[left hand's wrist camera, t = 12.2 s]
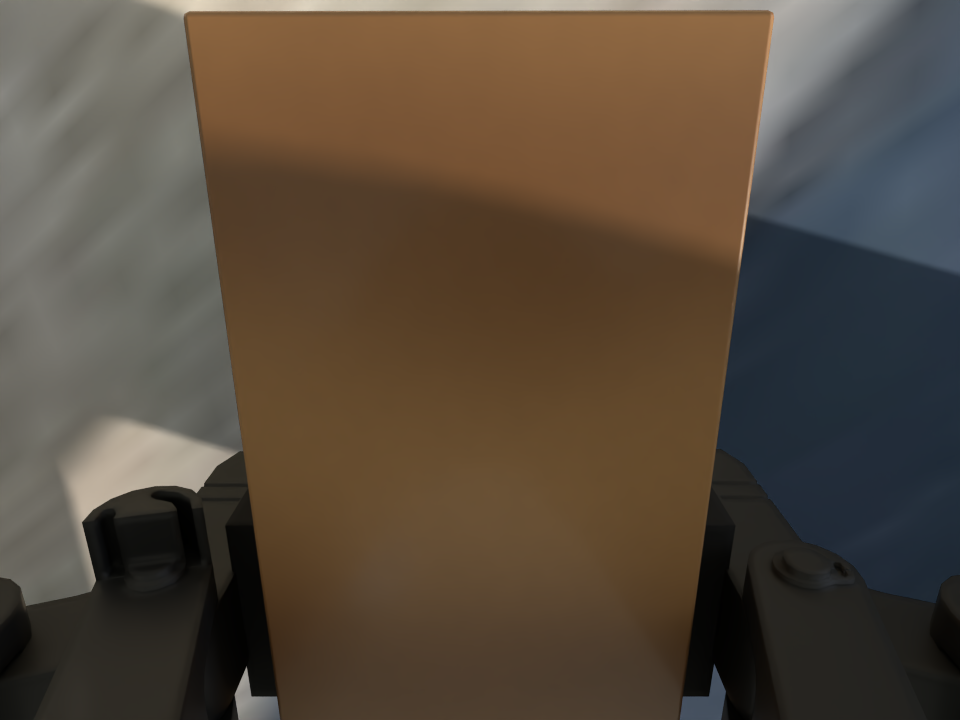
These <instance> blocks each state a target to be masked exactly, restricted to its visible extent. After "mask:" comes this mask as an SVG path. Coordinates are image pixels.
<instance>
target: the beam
mask: <svg viewBox="0 0 960 720" xmlns="http://www.w3.org/2000/svg"><path fill="white" fill-rule="evenodd" d="M773 21H774V15H773V13H772V12H770V11H768V10H680V11H189V12H187V13H185V14H184V24H185V31H186V38H187V46H188V53H189V60H190V67H191V75H192V82H193V89H194V96H195V104H196V111H197V118H198V125H199V133H200V140H201V147H202V155H203V162H204V169H205V176H206V184H207V191H208V198H209V205H210V213H211V220H212V227H213V234H214V242H215V249H216V256H217V263H218V271H219V278H220V285H221V292H222V300H223V307H224V314H225V322H226V329H227V336H228V343H229V351H230V358H231V365H232V372H233V380H234V387H235V394H236V401H237V409H238V416H239V423H240V430H241V438H242V445H243V452H244V459H245V467H246V474H247V481H248V488H249V496H250V503H251V510H252V518H253V525H254V532H255V539H256V547H257V554H258V561H259V568H260V576H261V583H262V590H263V597H264V605H265V612H266V619H267V626H268V634H269V641H270V648H271V656H272V663H273V670H274V677H275V685H276V692H277V699H278V706H279V714H280V720H680V713H681V706H682V698H683V691H684V683H685V676H686V668H687V661H688V654H689V646H690V639H691V631H692V624H693V616H694V609H695V601H696V594H697V587H698V579H699V572H700V564H701V557H702V549H703V542H704V534H705V527H706V520H707V512H708V505H709V497H710V490H711V482H712V475H713V467H714V460H715V452H716V445H717V438H718V430H719V423H720V415H721V408H722V400H723V393H724V385H725V378H726V371H727V363H728V356H729V348H730V341H731V333H732V326H733V318H734V311H735V304H736V296H737V289H738V281H739V274H740V266H741V259H742V251H743V244H744V236H745V229H746V222H747V214H748V207H749V199H750V192H751V184H752V177H753V169H754V162H755V155H756V147H757V140H758V132H759V125H760V117H761V110H762V102H763V95H764V88H765V80H766V73H767V65H768V58H769V50H770V43H771V35H772V28H773Z"/></svg>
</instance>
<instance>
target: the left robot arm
mask: <svg viewBox="0 0 960 720" xmlns="http://www.w3.org/2000/svg"><path fill="white" fill-rule="evenodd" d="M82 524H83V528H84V532H85V536H86V541H87V545H88V549H89V553H90V557H91V561H92V565H93V569H94V573H95V578H96V582H95V585H94V587H93V589H92V591H91V592H89V593H85V594H81V595H78V596H73V597H68V598H63V599H59V600H54V601H49V602H44V603H39V604H34V605H29V606H26V605H25V602H24V598H23V595H22V591H21V588H20V586H18V585H17V584H16V583H14V582H13V581H12V580H11V579H6V578H0V720H238V713H237V707H236V701H235V692H236V690H237V688H238V685H239V683H240V680H241V678H242V676H243V673H244V671H245V669H246V666H247V670H248V676H249V683H250V689H251V695H252V696H277V692H276V685H275V677H274V670H273V663H272V656H271V648H270V641H269V634H268V626H267V619H266V612H265V605H264V597H263V590H262V583H261V576H260V568H259V561H258V554H257V547H256V539H255V532H254V525H253V518H252V510H251V503H250V496H249V488H248V481H247V474H246V467H245V459H244V452H243V451H240V452H238V453H237V454H235V455H234V456H232V457H230V458H229V459H227V460H226V461H224V462H223V463H221V464H220V465H218V466H217V467H216V468H215V470H214V471H213V472H212V474H211V475H210V476H209V478H208V479H207V480H206V482H205V483H204V487H201V488H200V490H199V491H198V492H197V493H195V492H194V491H193V490H191V489H187V488H183V487H178V486H154V487H149V488H145V489H140V490H135V491H131V492H128V493H126V494H123V495H120V496H118V497H115V498H112V499H110V500H109V501H107V502H105V503H104V504H102V505H101V506H99V507H97V508H96V509H94V510H93V511H92V512H91V513H90V514H89V515H88V516H87V517H86V519H85V520H84V521H83V522H82ZM714 664H715V666H716V669H717V671H718V673H719V676H720V678H721V681H722V683H723V685H724V688H725V690H726V695H725V701H724V707H723V713H722V719H721V720H960V575H956V576H951V577H950V578H948V579H947V580H946V581H945V582H943V583H942V584H941V587H940V590H939V594H938V597H937V601H936V603H931V602H926V601H921V600H916V599H911V598H906V597H901V596H897V595H892V594H887V593H883V592H879V591H875V590H872V589H868V588H867V586H866V583H865V581H864V579H863V578H862V577H861V575H860V574H859V573H858V571H857V570H856V569H855V567H854V566H852V565H851V564H850V563H848V562H847V561H845V560H844V559H843V558H841V557H840V556H839V555H837V554H835V553H833V552H830V551H828V550H826V549H824V548H821V547H819V546H817V545H813V544H809V543H804V542H802V541H801V540H800V538H799V537H798V536H797V534H796V533H795V532H794V530H793V529H792V528H791V526H790V525H789V524H788V522H787V521H786V520H785V518H784V517H783V515H782V514H781V513H780V511H779V510H778V509H777V507H776V506H775V505H774V503H773V502H772V501H771V499H768V498H767V494H766V493H765V491H764V490H763V489H762V487H761V486H760V485H757V481H756V479H755V478H754V477H753V475H752V474H751V473H750V471H749V470H748V469H747V467H746V466H745V465H744V464H743V463H742V462H740V461H739V460H737V459H735V458H734V457H732V456H731V455H729V454H728V453H726V452H724V451H723V450H721V449H716V452H715V460H714V467H713V475H712V482H711V490H710V497H709V505H708V512H707V520H706V527H705V534H704V542H703V549H702V557H701V564H700V572H699V579H698V587H697V594H696V601H695V609H694V616H693V624H692V631H691V639H690V646H689V654H688V661H687V668H686V676H685V683H684V691H683V696H709V692H710V686H711V680H712V673H713V667H714Z"/></svg>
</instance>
